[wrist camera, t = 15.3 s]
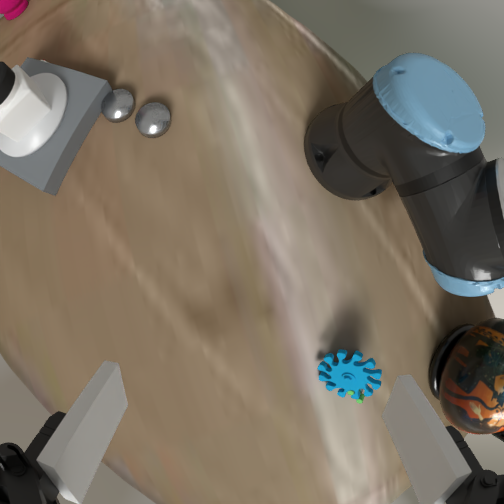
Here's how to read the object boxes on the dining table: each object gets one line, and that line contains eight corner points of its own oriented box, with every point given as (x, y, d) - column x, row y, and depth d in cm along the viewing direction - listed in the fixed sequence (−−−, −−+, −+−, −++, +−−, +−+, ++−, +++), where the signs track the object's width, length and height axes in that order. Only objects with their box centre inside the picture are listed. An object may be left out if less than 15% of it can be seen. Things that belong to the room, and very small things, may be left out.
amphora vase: (429, 310, 46) (559, 346, 19) (492, 309, 49) (592, 330, 22) (404, 417, 46) (497, 491, 19) (470, 399, 49) (554, 443, 22)
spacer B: (115, 91, 39) (112, 85, 37) (141, 99, 39) (138, 93, 37) (99, 117, 38) (94, 112, 36) (124, 127, 39) (121, 122, 37)
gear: (307, 357, 41) (373, 353, 35) (320, 332, 46) (381, 326, 40) (327, 405, 44) (386, 405, 38) (338, 381, 48) (393, 378, 42)
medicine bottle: (37, 84, 32) (1, 46, 20) (52, 109, 32) (12, 72, 21) (5, 115, 31) (-37, 87, 19) (18, 144, 32) (-29, 117, 20)
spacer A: (148, 104, 39) (146, 98, 38) (177, 114, 40) (176, 108, 38) (132, 131, 39) (129, 127, 37) (161, 143, 40) (159, 138, 38)
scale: (38, 65, 36) (26, 52, 31) (115, 90, 38) (107, 74, 33) (-15, 154, 35) (-30, 147, 30) (55, 195, 38) (39, 190, 33)
